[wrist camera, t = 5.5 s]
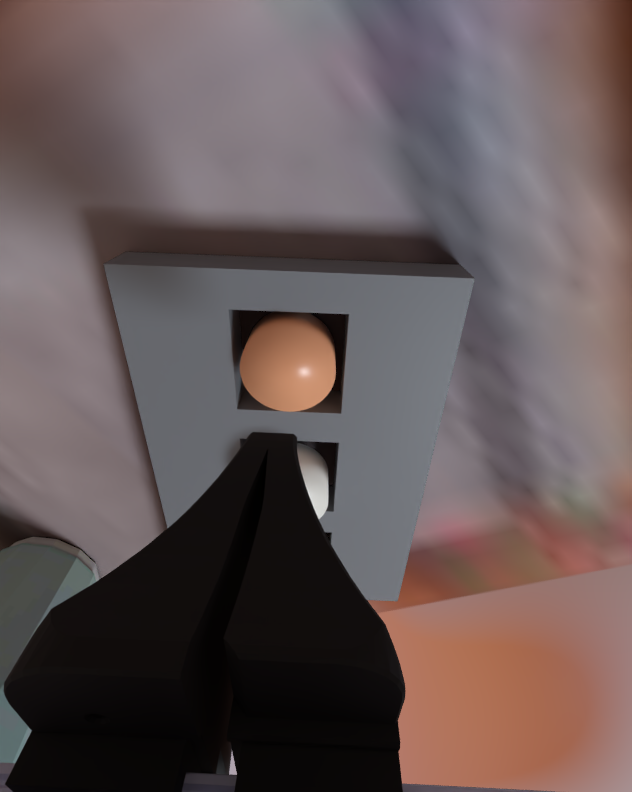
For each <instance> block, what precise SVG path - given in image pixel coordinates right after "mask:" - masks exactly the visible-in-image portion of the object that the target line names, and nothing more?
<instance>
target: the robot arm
mask: <svg viewBox="0 0 632 792" xmlns="http://www.w3.org/2000/svg"><path fill="white" fill-rule="evenodd" d="M4 695H5V697H6V699H7V701H8V703H9V704H10V706H11V707H12V708H13V709H14V710H15V712H16V713H17V714H18V715H19V716H20V717H21V719H22V720H23V721H24V722H25V723H26V725H27V726H28V727H29V728H30V729H31V733H30V735H29V737H28V739H27V741H26V743H25V745H24V747H23V749H22V751H21V753H20V755H19V757H18V759H17V761H16V763H0V792H552V791H534V790H514V789H496V788H476V787H457V786H439V785H420V784H402V781H401V771H400V762H399V753H398V750H399V749H400V737H399V728H398V718H399V715H400V712H401V709H402V706H403V703H404V700H405V683H404V678H403V674H402V670H401V667H400V663H399V660H398V657H397V654H396V651H395V648H394V645H393V643H392V640H391V638H390V635H389V633H388V630H387V628H386V625H385V624H384V622H383V621H382V619H381V618H380V617H379V615H378V614H377V613H376V612H375V610H374V609H373V608H372V606H371V605H370V604H369V602H368V601H367V600H366V598H365V597H364V596H363V594H362V593H361V591H360V590H359V588H358V587H357V585H356V584H355V583H354V581H353V580H352V578H351V577H350V575H349V573H348V572H347V570H346V569H345V567H344V565H343V564H342V562H341V560H340V559H339V557H338V555H337V554H336V552H335V550H334V549H333V547H332V545H331V543H330V541H329V539H328V537H327V536H326V534H325V532H324V529H323V527H322V525H321V523H320V521H319V519H318V517H317V514H316V512H315V510H314V507H313V505H312V502H311V500H310V497H309V494H308V491H307V488H306V485H305V482H304V479H303V475H302V472H301V468H300V464H299V459H298V453H297V437H296V436H295V435H294V434H287V433H264V432H252V433H251V434H250V435H249V436H248V437H247V439H246V441H245V442H244V444H243V445H242V446H241V448H240V449H239V451H238V452H237V453H236V455H235V456H234V458H233V459H232V460H231V462H230V463H229V464H228V465H227V467H226V468H225V469H224V470H223V472H222V473H221V474H220V475H219V477H218V478H217V479H216V480H215V481H214V482H213V484H212V485H211V486H210V487H209V488H208V489H207V490H206V491H205V492H204V493H203V495H202V496H201V497H200V498H199V499H198V500H197V501H196V502H195V503H194V504H193V505H192V506H191V507H190V508H189V509H188V510H187V511H186V512H185V513H184V514H183V515H182V516H181V517H180V518H179V519H178V520H176V521H175V522H174V523H173V524H172V525H171V526H170V527H169V528H167V529H166V530H165V531H164V532H163V533H162V534H160V535H159V536H158V537H157V538H156V539H154V540H153V541H152V542H151V543H150V544H148V545H147V546H146V547H145V548H143V549H142V550H141V551H139V552H138V553H137V554H135V555H134V556H132V557H131V558H130V559H128V560H127V561H126V562H124V563H123V564H121V565H120V566H119V567H117V568H116V569H114V570H113V571H112V572H110V573H109V574H107V575H106V576H104V577H103V578H101V579H100V580H98V581H97V582H95V583H93V584H92V585H90V586H88V587H87V588H85V589H83V590H82V591H80V592H78V593H77V594H75V595H73V596H72V597H70V598H68V599H67V600H65V601H64V602H62V603H60V604H58V605H57V606H55V607H53V608H52V609H51V610H50V611H49V613H48V614H47V616H46V617H45V618H44V620H43V621H42V622H41V624H40V625H39V627H38V628H37V629H36V631H35V632H34V634H33V636H32V637H31V639H30V640H29V642H28V644H27V645H26V647H25V649H24V650H23V652H22V654H21V655H20V657H19V659H18V660H17V662H16V664H15V665H14V667H13V669H12V670H11V672H10V674H9V675H8V677H7V679H6V680H5V682H4ZM232 751H233V756H234V761H235V766H236V771H237V775H229V768H230V760H231V752H232Z"/></svg>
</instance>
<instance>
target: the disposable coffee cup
mask: <svg viewBox="0 0 632 792" xmlns="http://www.w3.org/2000/svg"><path fill="white" fill-rule="evenodd" d="M98 580H99V576H98V572H97V568H96V564H95V563H94V562H93V561H92V560H91V559H90V558H89V557H88V556H87V555H86V554H85V553H83V552H82V551H81V550H80V549H78V548H76V547H73V546H71V545H69V544H67V543H64V542H62V541H60V540H58V539H50V538H41V537H30V538H27V539H23V540H20V541H17V542H15V543H14V544H12V545H11V546H10V547H8V548H5V549H2V550H1V551H0V763H16V761H17V759H18V757H19V755H20V753H21V751H22V749H23V747H24V745H25V743H26V741H27V739H28V737H29V735H30V733H31V729H30V728H29V727H28V726H27V725H26V723H25V722H24V721H23V720H22V719H21V717H20V716H19V715H18V714H17V713H16V712H15V710H14V709H13V708H12V707H11V706H10V704H9V703H8V701H7V699H6V697H5V695H4V682H5V680H6V679H7V677H8V675H9V674H10V672H11V670H12V669H13V667H14V665H15V664H16V662H17V660H18V659H19V657H20V655H21V654H22V652H23V650H24V649H25V647H26V645H27V644H28V642H29V640H30V639H31V637H32V636H33V634H34V632H35V631H36V629H37V628H38V627H39V625H40V624H41V622H42V621H43V620H44V618H45V617H46V616H47V614H48V613H49V611H50V610H51V609H52V608H53V607H55V606H57V605H58V604H60V603H62V602H64V601H65V600H67V599H68V598H70V597H72V596H73V595H75V594H77V593H78V592H80V591H82V590H83V589H85V588H87V587H88V586H90V585H92V584H93V583H95V582H97V581H98Z"/></svg>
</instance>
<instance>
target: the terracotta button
mask: <svg viewBox="0 0 632 792" xmlns="http://www.w3.org/2000/svg"><path fill="white" fill-rule="evenodd" d="M240 374H241V378H242V381H243V384H244V386H245V387H246V389H247V391H248V392H249V393H250V394H251V395H252V396H253V397H254V398H255V399H256V400H257V401H259V402H260V403H261V404H263V405H265V406H267V407H269V408H272V409H275V410H279V411H286V412H295V411H301V410H305V409H308V408H311V407H313V406H315V405H317V404H318V403H320V402H321V401H322V400H323V399H324V398H325V397H326V396H327V395H328V394H329V392H330V391H331V389H332V387H333V384H334V381H335V376H336V361H335V344H334V340H333V337H332V335H331V332H330V331H329V329H328V328H327V327H326V325H325V324H324V323H323V322H322V321H321V320H320V319H318V318H317V317H315V316H314V315H312V314H310V313H305V312H280V311H275V312H272V313H270V314H268V315H266V316H265V317H263V318H262V319H261V320H260V321H259V322H258V323H257V324H256V325H255V326H254V328H253V329H252V331H251V334H250V336H249V338H248V341H247V343H246V346H245V348H244V351H243V353H242V356H241V360H240Z"/></svg>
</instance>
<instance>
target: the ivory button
mask: <svg viewBox="0 0 632 792" xmlns="http://www.w3.org/2000/svg"><path fill="white" fill-rule="evenodd" d="M297 453H298V459H299V464H300V468H301V472H302V475H303V479H304V482H305V485H306V488H307V491H308V494H309V497H310V500H311V502H312V505H313V507H314V510H315V512H316V514H317V517H318V519H320V518H321V517H322V516H323V515H324V513H325V511H326V510H327V507H328V466H327V463H326V461H325V460H324V458H323V457H322V456H321V455H320V454H319V453H318V452H317V451H316V450H314V449H313V448H311V447H309V446H307V445H304V444H301V443H297Z"/></svg>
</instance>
